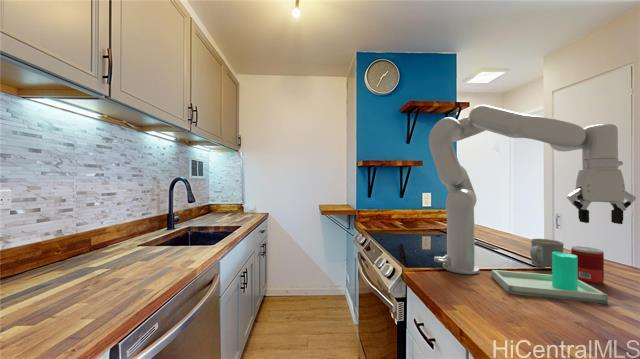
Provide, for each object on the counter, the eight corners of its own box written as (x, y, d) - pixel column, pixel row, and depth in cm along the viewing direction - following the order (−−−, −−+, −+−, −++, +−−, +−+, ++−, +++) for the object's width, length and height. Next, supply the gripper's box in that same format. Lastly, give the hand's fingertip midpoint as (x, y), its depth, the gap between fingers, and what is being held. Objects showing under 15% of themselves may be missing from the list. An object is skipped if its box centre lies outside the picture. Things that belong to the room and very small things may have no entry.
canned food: (610, 285, 87) (610, 252, 87) (582, 283, 89) (582, 251, 89) (591, 277, 94) (591, 246, 95) (565, 275, 96) (565, 245, 96)
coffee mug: (546, 261, 113) (546, 238, 113) (570, 269, 103) (570, 243, 103) (518, 262, 112) (517, 238, 112) (539, 270, 102) (539, 244, 102)
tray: (509, 293, 80) (508, 285, 80) (491, 276, 95) (491, 269, 95) (607, 303, 74) (607, 295, 74) (572, 283, 88) (572, 276, 88)
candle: (546, 283, 85) (546, 247, 86) (563, 283, 86) (563, 246, 86) (565, 291, 79) (565, 252, 80) (583, 291, 80) (583, 251, 80)
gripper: (625, 165, 82) (626, 222, 81) (558, 166, 86) (558, 220, 86) (648, 163, 74) (648, 226, 74) (572, 165, 79) (573, 223, 79)
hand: (600, 222), depth 80 cm, fingers open, 7 cm apart
